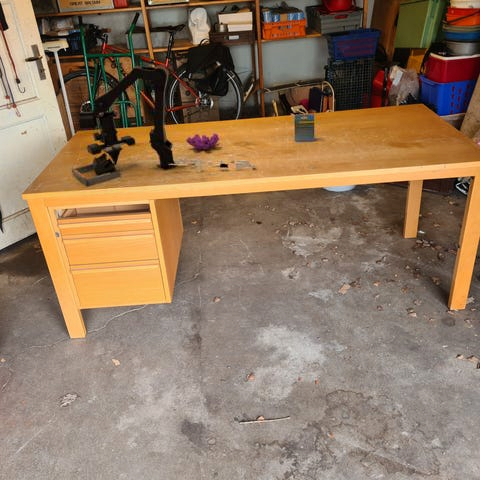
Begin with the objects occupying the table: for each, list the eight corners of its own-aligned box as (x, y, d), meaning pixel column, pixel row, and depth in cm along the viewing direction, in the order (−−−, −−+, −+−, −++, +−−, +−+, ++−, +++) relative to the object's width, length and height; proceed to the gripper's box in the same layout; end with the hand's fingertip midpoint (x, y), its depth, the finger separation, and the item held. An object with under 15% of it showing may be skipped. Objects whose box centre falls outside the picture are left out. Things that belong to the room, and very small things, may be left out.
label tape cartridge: (314, 138, 212) (314, 111, 206) (314, 141, 209) (314, 114, 203) (294, 139, 213) (294, 112, 207) (294, 142, 210) (294, 115, 204)
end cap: (100, 173, 193) (89, 161, 189) (114, 163, 193) (103, 150, 189) (102, 181, 184) (90, 168, 181) (116, 170, 184) (105, 157, 181)
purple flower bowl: (219, 156, 210) (216, 144, 201) (187, 157, 211) (182, 145, 203) (221, 135, 214) (218, 123, 205) (189, 136, 216) (185, 124, 207)
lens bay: (120, 176, 186) (119, 170, 185) (87, 186, 179) (85, 179, 178) (104, 166, 198) (103, 160, 197) (72, 175, 191) (71, 168, 190)
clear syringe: (168, 172, 185) (173, 166, 196) (255, 173, 183) (256, 167, 194) (167, 156, 182) (173, 151, 194) (255, 157, 181) (256, 152, 192)
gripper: (121, 119, 195) (128, 154, 203) (78, 128, 186) (87, 165, 193) (132, 124, 187) (139, 161, 195) (88, 134, 178) (96, 172, 186)
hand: (115, 164), depth 192 cm, fingers closed, pressing on end cap
